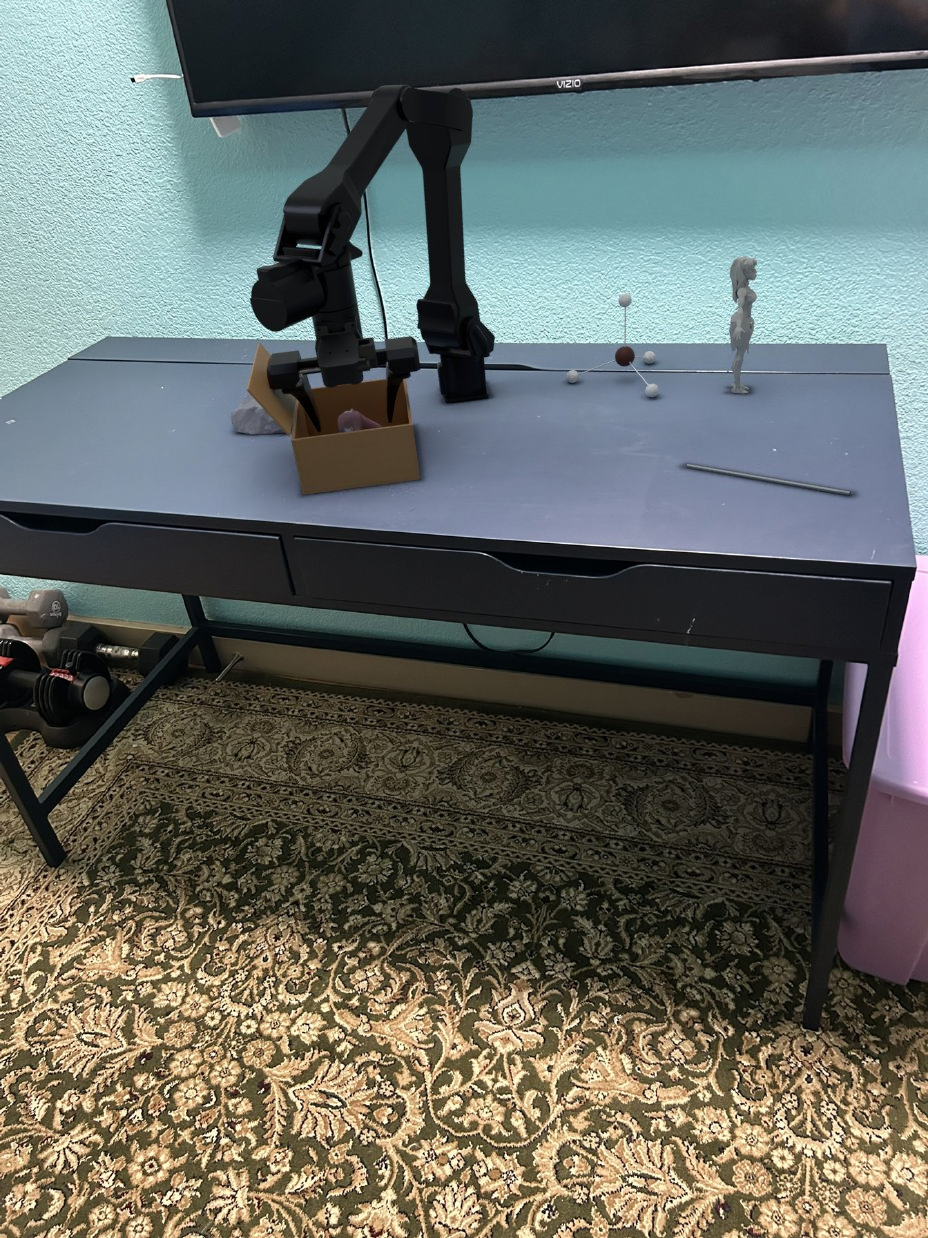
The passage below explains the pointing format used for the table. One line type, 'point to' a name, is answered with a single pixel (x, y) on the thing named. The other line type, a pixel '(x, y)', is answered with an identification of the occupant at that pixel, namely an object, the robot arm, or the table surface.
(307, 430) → the carton
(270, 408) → the flap
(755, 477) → the rod
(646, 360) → the molecular model
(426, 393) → the table surface
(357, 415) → the video game controller
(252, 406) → the stone block
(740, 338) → the human figurine
